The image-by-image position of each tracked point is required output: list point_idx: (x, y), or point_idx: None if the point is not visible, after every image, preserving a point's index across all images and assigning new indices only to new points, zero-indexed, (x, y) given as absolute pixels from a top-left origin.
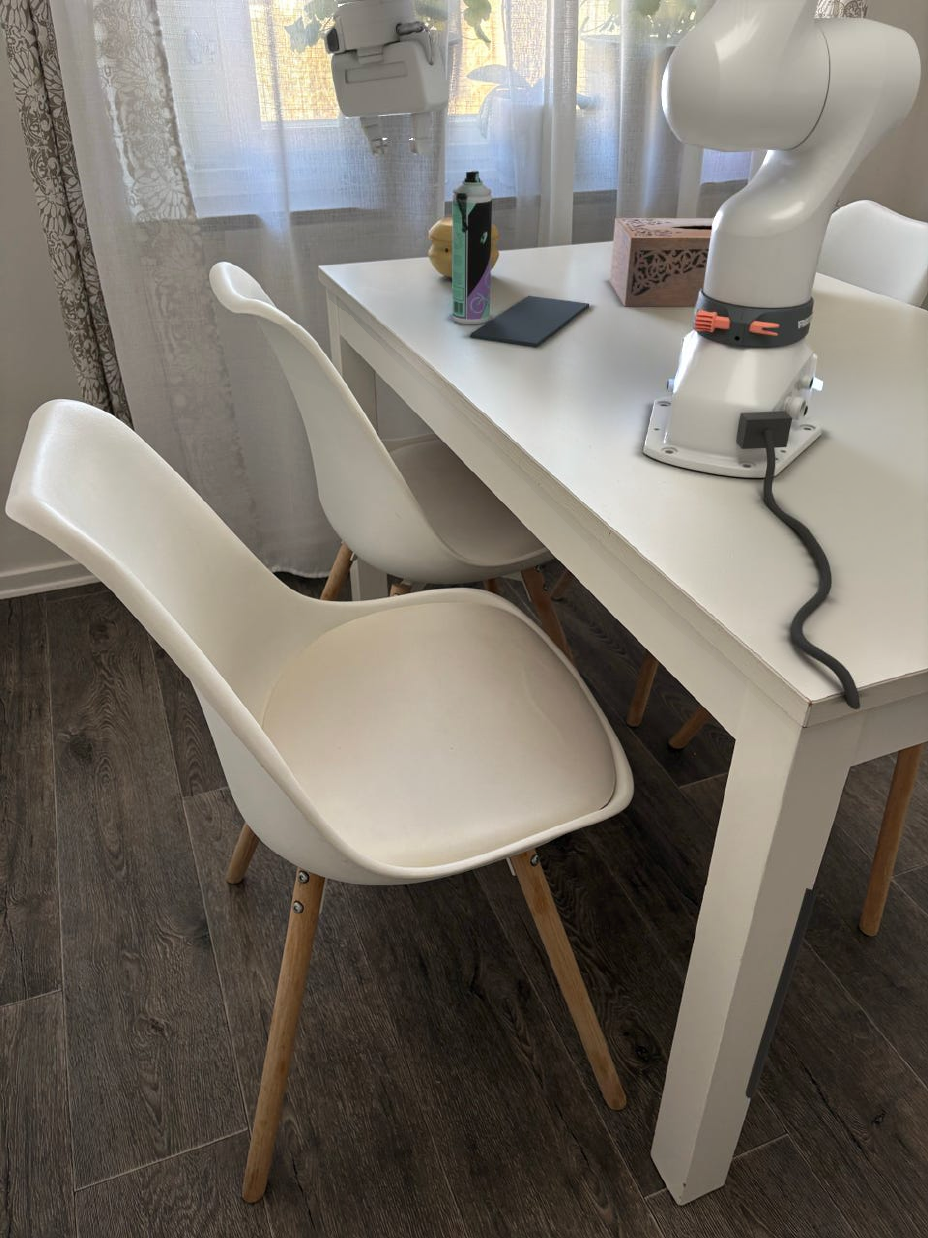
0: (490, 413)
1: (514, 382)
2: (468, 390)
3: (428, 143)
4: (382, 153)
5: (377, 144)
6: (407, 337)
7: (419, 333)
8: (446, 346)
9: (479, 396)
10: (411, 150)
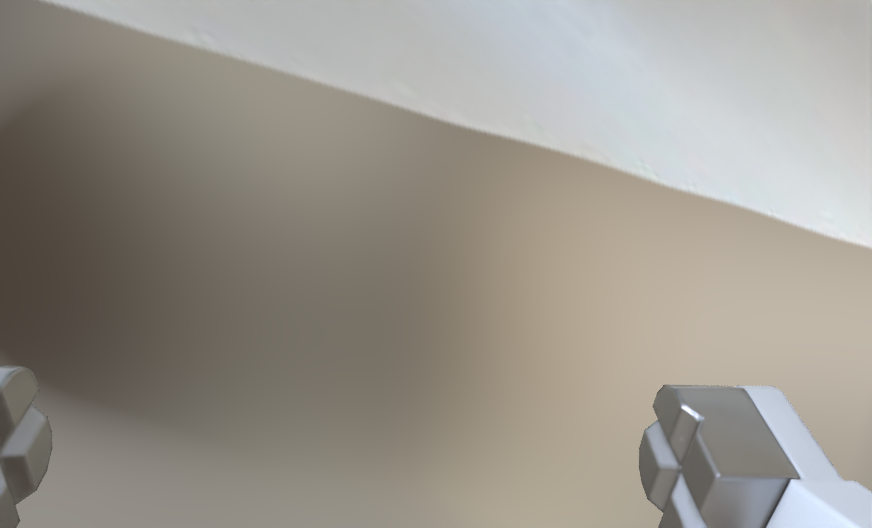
0: (856, 236)
1: (805, 74)
2: (750, 195)
3: (803, 428)
4: (30, 411)
5: (12, 521)
6: (338, 70)
7: (325, 11)
8: (485, 27)
9: (789, 198)
10: (650, 492)
